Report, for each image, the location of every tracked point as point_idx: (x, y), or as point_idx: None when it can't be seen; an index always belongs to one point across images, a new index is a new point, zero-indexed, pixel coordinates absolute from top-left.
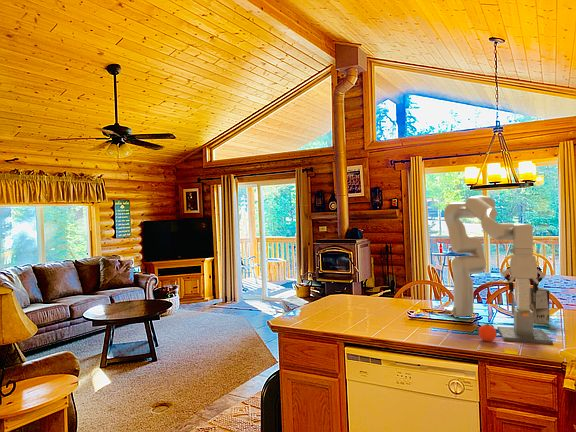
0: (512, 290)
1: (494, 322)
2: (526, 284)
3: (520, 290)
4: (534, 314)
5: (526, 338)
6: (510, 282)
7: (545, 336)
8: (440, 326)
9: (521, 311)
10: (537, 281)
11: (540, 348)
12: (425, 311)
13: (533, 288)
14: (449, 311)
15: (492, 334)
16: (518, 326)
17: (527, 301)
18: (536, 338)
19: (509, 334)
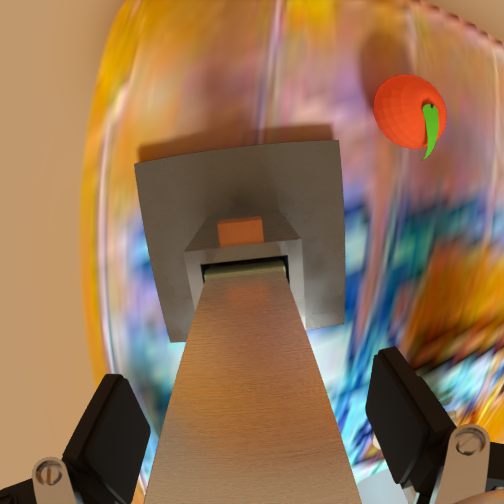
0: (391, 356)
1: None
2: (204, 454)
3: (297, 368)
4: None
5: (241, 152)
6: (462, 428)
7: (156, 228)
8: (498, 272)
9: (265, 251)
10: (45, 485)
11: (194, 79)
12: (476, 410)
13: (134, 443)
14: (449, 411)
15: (392, 77)
16: (275, 219)
17: (214, 304)
18: (196, 172)
19: (312, 198)
